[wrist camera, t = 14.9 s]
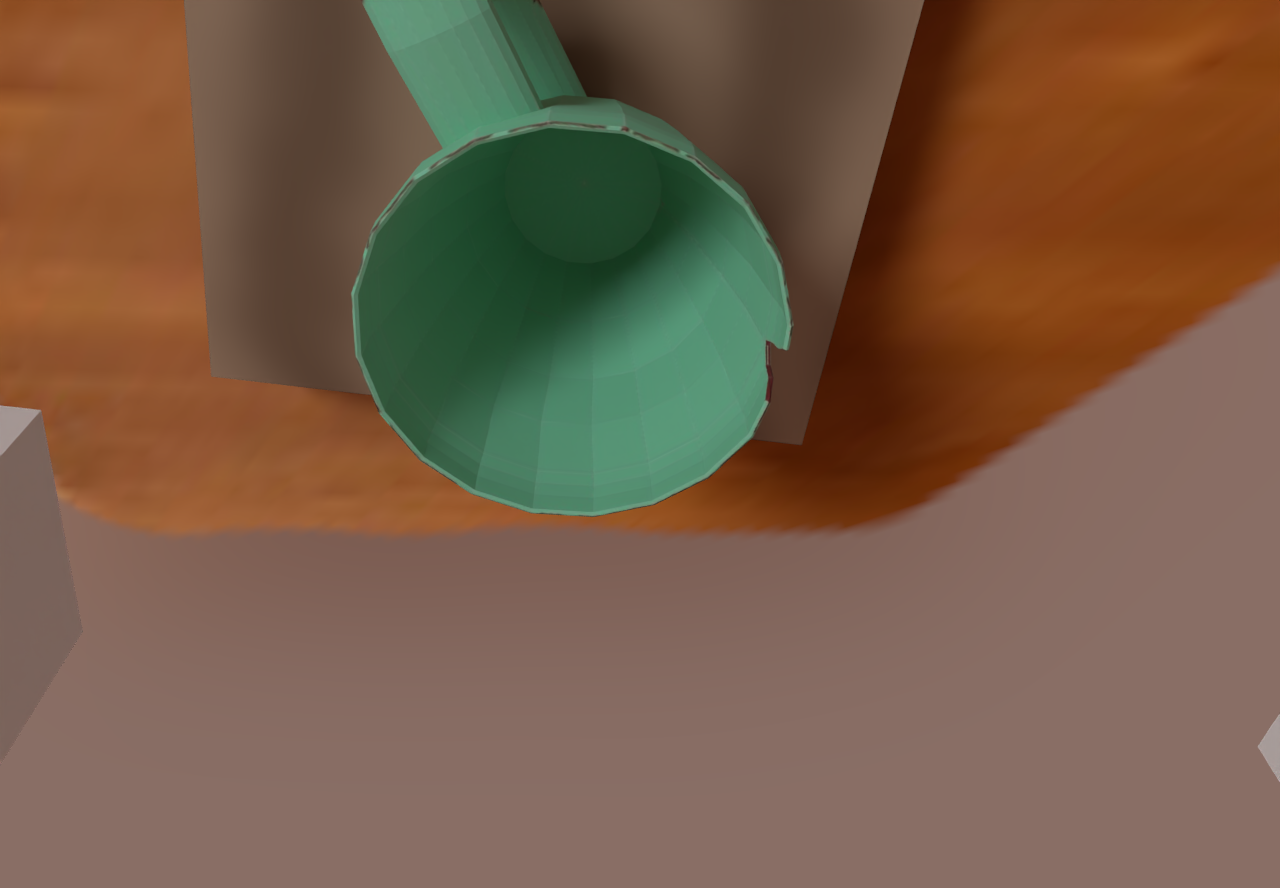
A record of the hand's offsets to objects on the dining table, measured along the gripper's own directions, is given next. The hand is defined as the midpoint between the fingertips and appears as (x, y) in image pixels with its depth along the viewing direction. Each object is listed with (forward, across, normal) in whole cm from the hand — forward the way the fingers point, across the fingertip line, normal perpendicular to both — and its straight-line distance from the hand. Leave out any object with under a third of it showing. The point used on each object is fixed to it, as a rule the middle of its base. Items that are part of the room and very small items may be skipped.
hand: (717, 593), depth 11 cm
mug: (+23, +3, +2) cm, 23 cm away
